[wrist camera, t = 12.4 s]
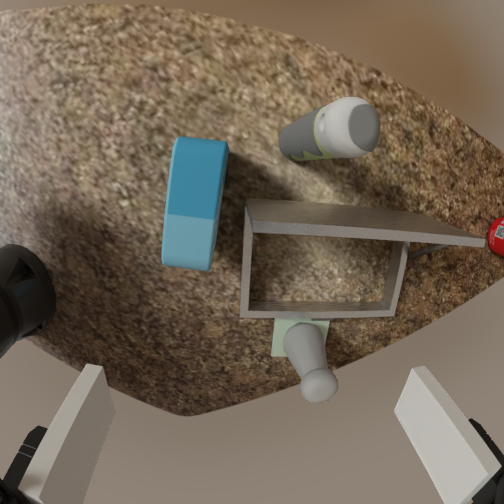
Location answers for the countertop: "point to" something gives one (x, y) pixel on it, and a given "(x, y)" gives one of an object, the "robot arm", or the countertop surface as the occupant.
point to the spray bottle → (332, 132)
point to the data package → (194, 202)
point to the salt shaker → (310, 362)
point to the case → (342, 225)
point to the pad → (282, 327)
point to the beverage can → (497, 236)
